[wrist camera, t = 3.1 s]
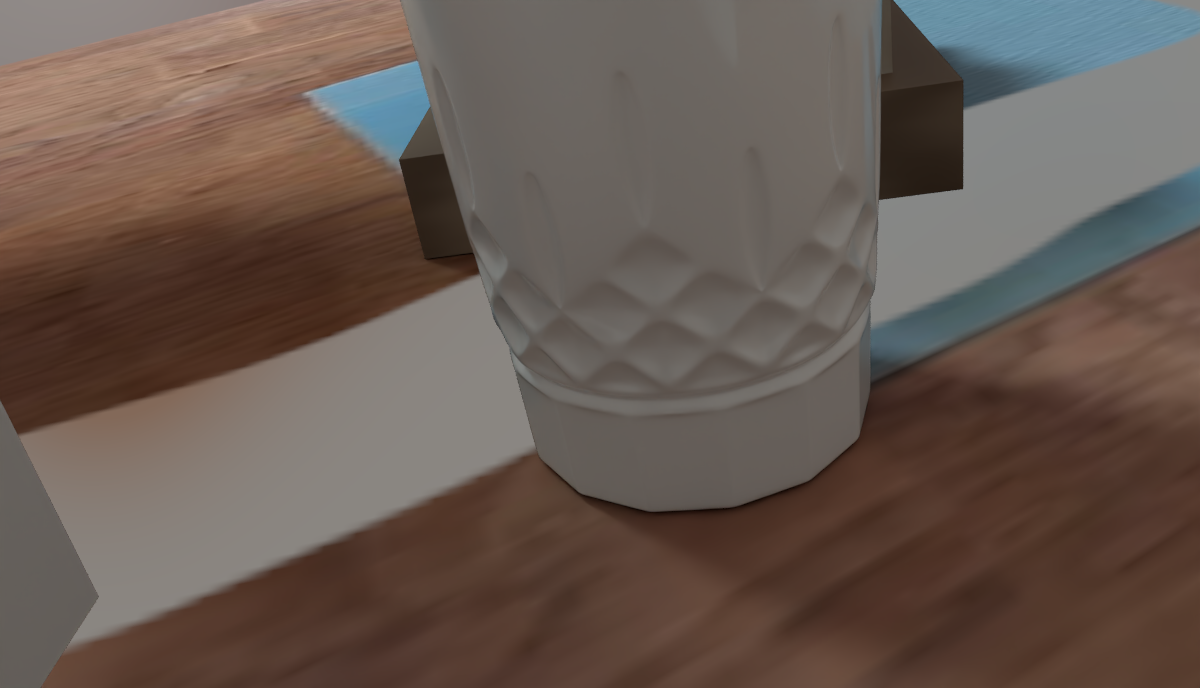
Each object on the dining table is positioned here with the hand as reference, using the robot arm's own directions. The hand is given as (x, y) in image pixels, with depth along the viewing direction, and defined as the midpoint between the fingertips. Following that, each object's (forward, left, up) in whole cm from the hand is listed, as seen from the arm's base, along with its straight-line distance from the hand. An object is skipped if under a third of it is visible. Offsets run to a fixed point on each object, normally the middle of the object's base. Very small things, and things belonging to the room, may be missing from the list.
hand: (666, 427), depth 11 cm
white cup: (-8, +5, -6) cm, 12 cm away
